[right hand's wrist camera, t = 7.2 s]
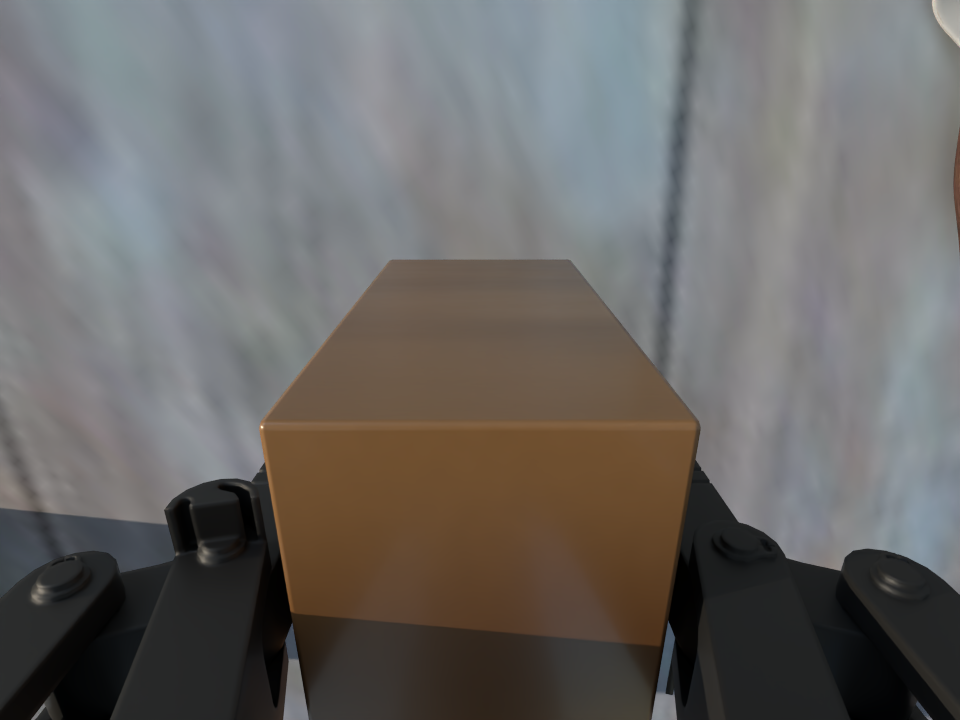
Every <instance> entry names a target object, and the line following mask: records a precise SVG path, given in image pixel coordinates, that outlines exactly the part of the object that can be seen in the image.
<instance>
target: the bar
mask: <svg viewBox="0 0 960 720" xmlns="http://www.w3.org/2000/svg"><path fill="white" fill-rule="evenodd" d="M700 428H701V427H700V423H699V421H698V419H697V418H696V417H695V416H694V414H693V413H692V412H691V411H690V409H689V408H688V407H687V406H686V404H685V403H684V402H683V401H682V399H681V398H680V397H679V396H678V394H677V393H676V392H675V391H674V389H673V388H672V387H671V386H670V384H669V383H668V382H667V381H666V379H665V378H664V377H663V376H662V374H661V373H660V372H659V371H658V369H657V368H656V367H655V366H654V364H653V363H652V362H651V361H650V359H649V358H648V357H647V356H646V354H645V353H644V352H643V351H642V349H641V348H640V347H639V346H638V344H637V343H636V342H635V341H634V339H633V338H632V337H631V336H630V334H629V333H628V332H627V331H626V329H625V328H624V327H623V326H622V324H621V323H620V322H619V321H618V319H617V318H616V317H615V316H614V314H613V313H612V312H611V311H610V309H609V308H608V307H607V306H606V304H605V303H604V302H603V301H602V299H601V298H600V297H599V296H598V294H597V293H596V292H595V291H594V289H593V288H592V287H591V286H590V284H589V283H588V282H587V281H586V279H585V278H584V277H583V276H582V274H581V273H580V272H579V271H578V269H577V268H576V267H575V266H574V264H573V263H572V262H571V261H570V260H391V261H389V262H388V263H387V265H386V266H385V267H384V268H383V270H382V271H381V272H380V273H379V275H378V276H377V277H376V278H375V280H374V281H373V282H372V283H371V285H370V286H369V287H368V288H367V290H366V291H365V292H364V293H363V295H362V296H361V297H360V298H359V300H358V301H357V302H356V303H355V305H354V306H353V307H352V308H351V310H350V311H349V312H348V313H347V315H346V316H345V317H344V318H343V320H342V321H341V322H340V323H339V325H338V326H337V327H336V328H335V330H334V331H333V332H332V333H331V335H330V336H329V337H328V338H327V340H326V341H325V342H324V343H323V345H322V346H321V347H320V348H319V350H318V351H317V352H316V353H315V355H314V356H313V357H312V358H311V360H310V361H309V362H308V363H307V365H306V366H305V367H304V368H303V370H302V371H301V372H300V373H299V375H298V376H297V377H296V378H295V380H294V381H293V382H292V383H291V385H290V386H289V387H288V388H287V390H286V391H285V392H284V393H283V395H282V396H281V397H280V398H279V400H278V401H277V402H276V403H275V405H274V406H273V407H272V408H271V410H270V411H269V412H268V413H267V415H266V416H265V417H264V418H263V420H262V421H261V423H260V427H259V429H260V436H261V441H262V447H263V453H264V459H265V465H266V471H267V476H268V482H269V488H270V494H271V500H272V506H273V512H274V517H275V523H276V529H277V535H278V541H279V547H280V553H281V558H282V564H283V570H284V576H285V582H286V588H287V593H288V599H289V605H290V611H291V617H292V623H293V629H294V634H295V640H296V646H297V652H298V658H299V664H300V670H301V675H302V681H303V687H304V693H305V699H306V705H307V710H308V716H309V720H651V719H652V713H653V707H654V701H655V695H656V689H657V683H658V677H659V671H660V665H661V659H662V654H663V648H664V642H665V636H666V630H667V624H668V618H669V612H670V606H671V600H672V595H673V589H674V583H675V577H676V571H677V565H678V559H679V553H680V547H681V541H682V536H683V530H684V524H685V518H686V512H687V506H688V500H689V494H690V488H691V482H692V477H693V471H694V465H695V459H696V453H697V447H698V441H699V435H700Z"/></svg>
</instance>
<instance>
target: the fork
mask: <svg viewBox="0 0 960 720" xmlns="http://www.w3.org/2000/svg"><path fill="white" fill-rule="evenodd" d="M932 7H933V11H934V15H935V17H936V19H937V21H938V23H939V24H940V26H941V27H942V28H943V30H944V31H945V32H946V33H947V34H948V35H949V36H950V37H951V39H952V40H953V41H954V42H955V43H956V44H957V45H958V46H959V48H960V0H932ZM954 200H955V210H956V219H957V228H958V238H959V250H960V129H959V136H958V143H957V150H956V158H955V167H954Z"/></svg>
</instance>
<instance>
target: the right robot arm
mask: <svg viewBox="0 0 960 720" xmlns="http://www.w3.org/2000/svg"><path fill="white" fill-rule="evenodd" d="M164 511H165V515H166V519H167V523H168V527H169V530H170V534H171V538H172V542H173V546H174V550H175V554H176V555H175V558H174V560H173V561H170V562H167V563H163V564H160V565H155V566H151V567H146V568H142V569H137V570H132V571H128V572H123V573H120V571H119V568H118V564H117V561H116V559H115V558H113V557H112V556H111V555H110V554H108V553H104V552H98V551H88V552H80V553H74V554H71V555H67V556H65V557H61V558H58V559H55V560H53V561H51V562H49V563H47V564H45V565H43V566H41V567H39V568H37V569H35V570H34V571H32V572H31V573H30V574H28V575H27V576H26V577H24V578H23V579H22V580H20V581H19V582H18V583H17V584H15V585H14V586H13V587H12V588H11V589H10V590H9V591H8V592H7V593H6V594H5V595H4V596H3V597H2V598H1V599H0V720H31V719H32V717H33V716H34V715H35V714H36V712H37V711H38V710H39V709H40V707H41V706H42V705H43V703H44V704H45V706H46V707H45V708H44V709H43V711H42V712H41V713H40V715H39V716H38V717H37V718H36V719H35V720H283V714H284V704H285V694H286V683H287V673H288V662H289V661H288V654H287V648H286V642H285V639H286V637H287V634H288V632H289V629H290V627H291V624H292V617H291V611H290V605H289V599H288V593H287V588H286V582H285V576H284V570H283V564H282V558H281V553H280V547H279V541H278V535H277V529H276V523H275V517H274V512H273V506H272V500H271V494H270V488H269V482H268V476H267V471H266V465H265V463H264V464H263V466H262V467H261V469H260V472H259V473H257V474H256V476H255V477H254V479H253V480H252V482H249V481H245V480H241V479H219V480H215V481H210V482H206V483H202V484H200V485H197V486H195V487H193V488H190V489H188V490H186V491H184V492H183V493H181V494H180V495H178V496H177V497H175V498H174V499H173V500H172V501H171V502H170V503H169V505H168V506H167V507H166V508H165V510H164ZM668 621H669V623H670V626H671V628H672V631H673V633H674V636H675V642H674V648H673V654H672V659H671V665H670V670H669V676H668V681H667V688H666V694H670V695H673V690H674V692H675V703H676V713H677V720H928V719H927V718H926V717H925V716H924V715H923V714H922V712H921V711H920V710H919V708H918V707H917V706H916V702H917V700H918V702H919V703H920V704H921V705H922V707H923V708H924V709H925V710H926V712H927V713H928V714H929V715H930V717H931V718H932V719H933V720H960V595H959V594H958V593H957V592H956V591H955V590H954V589H953V588H952V587H951V586H950V585H948V584H947V583H946V582H945V581H944V580H943V579H941V578H940V577H939V576H937V575H936V574H935V573H933V572H932V571H931V570H929V569H928V568H927V567H925V566H923V565H921V564H919V563H917V562H915V561H913V560H911V559H909V558H907V557H904V556H901V555H899V554H898V555H897V554H895V553H891V552H888V551H883V550H875V549H862V550H855V551H852V552H851V553H850V554H849V555H847V556H846V557H845V559H844V563H843V566H842V569H841V571H838V570H834V569H829V568H824V567H820V566H815V565H811V564H806V563H801V562H798V561H794V560H791V559H787V558H786V557H785V554H784V553H783V551H782V550H781V548H780V547H779V545H778V544H777V543H776V542H775V541H774V540H773V539H771V538H770V537H769V536H768V535H766V534H765V533H764V532H762V531H760V530H757V529H755V528H753V527H751V526H749V525H747V524H743V523H739V522H738V521H737V519H736V518H735V517H734V515H733V514H732V512H731V511H730V509H729V508H728V506H727V505H726V504H725V502H724V501H723V499H722V498H721V496H720V495H719V493H718V492H717V490H716V489H715V488H714V486H713V485H712V483H710V482H709V479H708V477H707V476H706V474H705V473H704V472H703V471H701V467H700V466H699V464H698V463H697V461H696V460H695V465H694V471H693V477H692V482H691V488H690V494H689V500H688V506H687V512H686V518H685V524H684V530H683V536H682V541H681V547H680V553H679V559H678V565H677V571H676V577H675V583H674V589H673V595H672V600H671V606H670V612H669V618H668Z"/></svg>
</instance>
